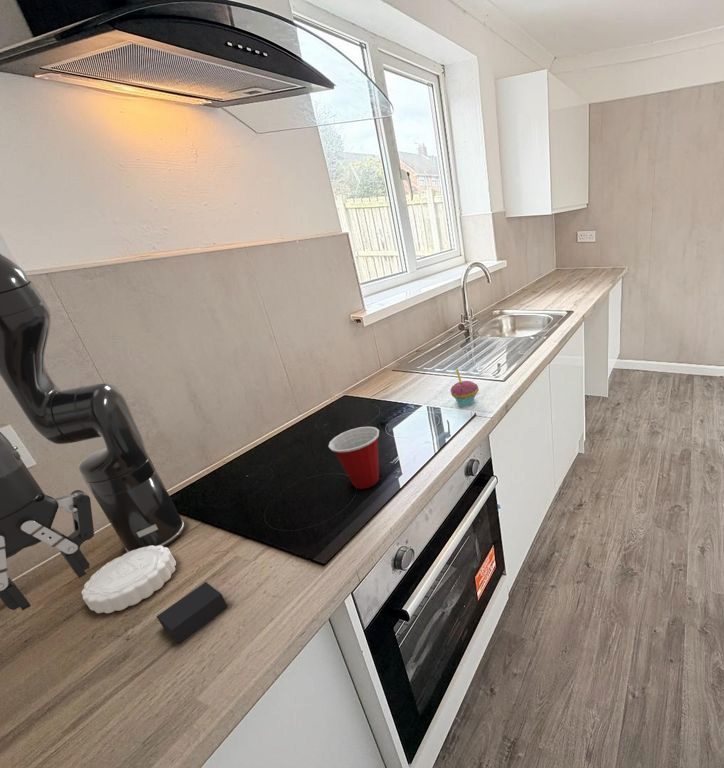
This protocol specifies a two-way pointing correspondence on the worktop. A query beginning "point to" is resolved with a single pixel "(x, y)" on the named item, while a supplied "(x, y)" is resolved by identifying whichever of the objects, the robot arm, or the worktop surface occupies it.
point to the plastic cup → (358, 455)
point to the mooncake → (128, 579)
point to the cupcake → (464, 391)
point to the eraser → (192, 612)
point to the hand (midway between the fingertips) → (53, 588)
